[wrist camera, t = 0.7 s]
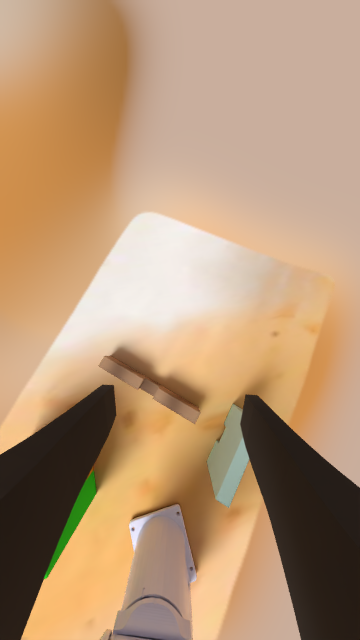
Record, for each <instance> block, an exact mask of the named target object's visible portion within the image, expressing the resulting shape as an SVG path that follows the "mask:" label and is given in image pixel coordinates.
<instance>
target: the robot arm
mask: <svg viewBox="0 0 360 640" xmlns="http://www.w3.org/2000/svg"><path fill="white" fill-rule="evenodd" d="M115 417H116V406H115V395H114V385H102V386H100V387H99V388H97V389H96V390H95V391H93V392H92V393H91V394H89V395H88V396H87V397H85V398H84V399H83V400H81V401H80V402H79V403H77V404H76V405H75V406H73V407H72V408H71V409H69V410H68V411H67V412H65V413H64V414H62V415H61V416H59V417H58V418H57V419H55V420H54V421H52V422H51V423H49V424H48V425H46V426H45V427H43V428H42V429H41V430H39V431H38V432H36V433H35V434H33V435H32V436H30V437H28V438H27V439H25V440H24V441H22V442H20V443H19V444H17V445H16V446H14V447H12V448H11V449H9V450H7V451H6V452H4V453H2V454H1V455H0V640H21V637H22V634H23V632H24V629H25V626H26V624H27V621H28V619H29V616H30V613H31V611H32V608H33V606H34V603H35V601H36V598H37V595H38V593H39V590H40V588H41V585H42V582H43V580H44V577H45V575H46V572H47V570H48V567H49V565H50V562H51V560H52V557H53V555H54V552H55V550H56V547H57V545H58V542H59V540H60V538H61V535H62V533H63V530H64V528H65V526H66V523H67V521H68V518H69V516H70V514H71V511H72V509H73V507H74V504H75V502H76V500H77V498H78V496H79V493H80V491H81V489H82V487H83V485H84V483H85V481H86V479H87V477H88V475H89V473H90V471H91V469H92V467H93V465H94V463H95V461H96V459H97V457H98V455H99V453H100V451H101V449H102V447H103V445H104V443H105V441H106V439H107V437H108V435H109V433H110V430H111V428H112V425H113V422H114V420H115ZM240 426H241V431H242V435H243V439H244V443H245V447H246V450H247V453H248V456H249V459H250V462H251V465H252V468H253V470H254V473H255V476H256V479H257V482H258V485H259V488H260V491H261V493H262V496H263V499H264V502H265V505H266V508H267V511H268V514H269V517H270V520H271V524H272V528H273V531H274V535H275V538H276V543H277V546H278V550H279V553H280V557H281V561H282V565H283V569H284V572H285V577H286V580H287V584H288V588H289V592H290V596H291V600H292V603H293V608H294V612H295V616H296V620H297V624H298V628H299V632H300V636H301V640H360V488H359V487H358V486H357V485H356V484H354V483H353V482H352V481H351V480H349V479H348V478H347V477H346V476H344V475H343V474H342V473H341V472H340V471H338V470H337V469H336V468H335V467H333V466H332V465H331V464H330V463H329V462H327V461H326V460H325V459H324V458H323V457H322V456H321V455H319V454H318V453H317V452H316V451H315V450H314V449H313V448H311V446H309V445H308V444H307V443H306V442H305V441H304V440H303V439H302V438H301V437H300V436H298V435H297V434H296V433H295V432H294V431H293V430H292V429H291V428H290V427H289V426H288V425H287V424H286V423H285V422H284V421H283V420H282V419H281V418H280V417H279V416H278V415H277V414H276V413H275V412H274V411H273V410H272V409H271V408H270V407H269V406H268V405H267V404H266V403H265V402H264V401H263V400H262V399H261V398H260V397H259V396H257V395H246V396H245V401H244V406H243V412H242V417H241V422H240ZM177 512H179V513H177ZM132 527H134V529H133V528H132ZM129 528H130V533H131V538H132V543H133V548H134V556H133V560H132V565H131V569H130V574H129V578H128V582H127V587H126V591H125V596H124V600H123V605H122V609H121V610H119V611H118V613H117V617H116V621H115V625H114V629H113V634H112V630H108V629H107V630H106V631H105V632H104V634H103V636H102V637H101V639H100V640H193V631H192V609H191V587H190V583H191V582H194V581H195V580H196V578H197V575H196V570H195V566H194V562H193V557H192V553H191V549H190V545H189V541H188V537H187V533H186V529H185V525H184V521H183V517H182V512H181V508H180V505H179V504H175V505H172V506H169V507H166V508H164V509H161V510H158V511H155V512H152V513H149V514H146V515H143V516H140V517H137V518H134V519H132V520H131V521H130V524H129ZM190 567H192V568H190Z"/></svg>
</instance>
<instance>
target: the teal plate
mask: <svg viewBox="0 0 360 640" xmlns="http://www.w3.org/2000/svg"><path fill="white" fill-rule="evenodd" d="M242 412H243V409H241V408H240V407H238V406H236V405H234V404H233V405H232V407H231V409H230V411H229V413H228V416H227V418H226V420H225V422H224V425H225V427H226V428H225V430H224V432H223V435H222V437H221V439H220V441H218V440H216V442H215V444H214V446H213V448H212V450H211V453H210V455H209V457H208V459H207V465H208V470H209V474H210V478H211V482H212V486H213V490H214V494H215V499H216V500H217V501H219V502H221V503H222V504H224V505H225V506H227V507H228V508H229V507H230V504H231V502H232V500H233V497H234V495H235V492H236V490H237V488H238V485H239V483H240V480H241V478H242V476H243V473H244V471H245V468H246V466H247V464H248V461H249V456H248V453H247V450H246V447H245V443H244V439H243V435H242V431H241V426H240V422H241V417H242Z"/></svg>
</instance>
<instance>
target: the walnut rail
mask: <svg viewBox="0 0 360 640" xmlns="http://www.w3.org/2000/svg"><path fill="white" fill-rule="evenodd" d="M99 367H101V368H102V369H104V370H106V371H107V372H109V373H111V374H112V375H114V376H116V377H117V378H119V379H121V380H122V381H124V382H126V383H127V384H129V385H131V386H132V387H134V388H136V389H137V390H138V389H139V388H141V389H142V390H144V391H146V392H147V393H149V394H151V395H152V396H154V397H153V399H154V400H156V401H157V402H159V403H161V404H162V405H164V406H166V407H167V408H169V409H171V410H172V411H174V412H176V413H177V414H179V415H181V416H182V417H184V418H186V419H187V420H189V421H191V422H192V423H194V424H195V423H196V421H197V419H198V417H199V415H200V410H199V407H197V406H195V405H194V404H192V403H190V402H189V401H187V400H185V399H183V398H182V397H180V396H178V395H177V394H175V393H173V392H172V391H170V390H168V389H166V388H165V387H163V386H161V385H160V384H158V383H156V382H154V381H153V380H151V379H149V378H148V377H146V376H144V375H143V374H141V373H139V372H137V371H136V370H134V369H132V368H131V367H129V366H127V365H126V364H124V363H122V362H120V361H119V360H117V359H115V358H114V357H112V356H104V358H103V359H102V361H101V362H100V364H99Z"/></svg>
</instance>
